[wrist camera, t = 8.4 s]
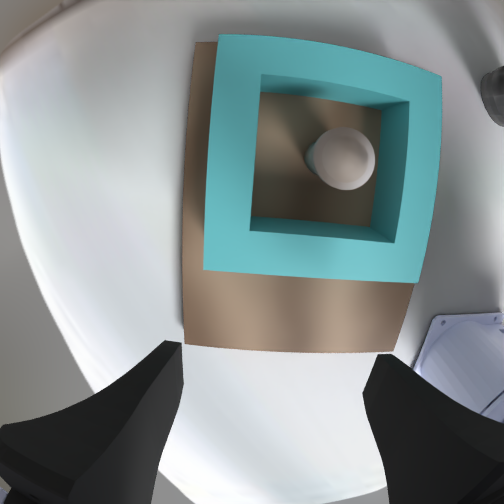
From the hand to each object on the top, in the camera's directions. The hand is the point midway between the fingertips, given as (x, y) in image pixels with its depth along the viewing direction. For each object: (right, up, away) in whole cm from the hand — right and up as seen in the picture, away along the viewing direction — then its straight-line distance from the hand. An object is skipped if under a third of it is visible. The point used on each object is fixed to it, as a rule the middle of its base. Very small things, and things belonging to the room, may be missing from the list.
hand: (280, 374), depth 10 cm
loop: (+3, +9, +5) cm, 11 cm away
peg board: (+3, +7, +7) cm, 11 cm away
